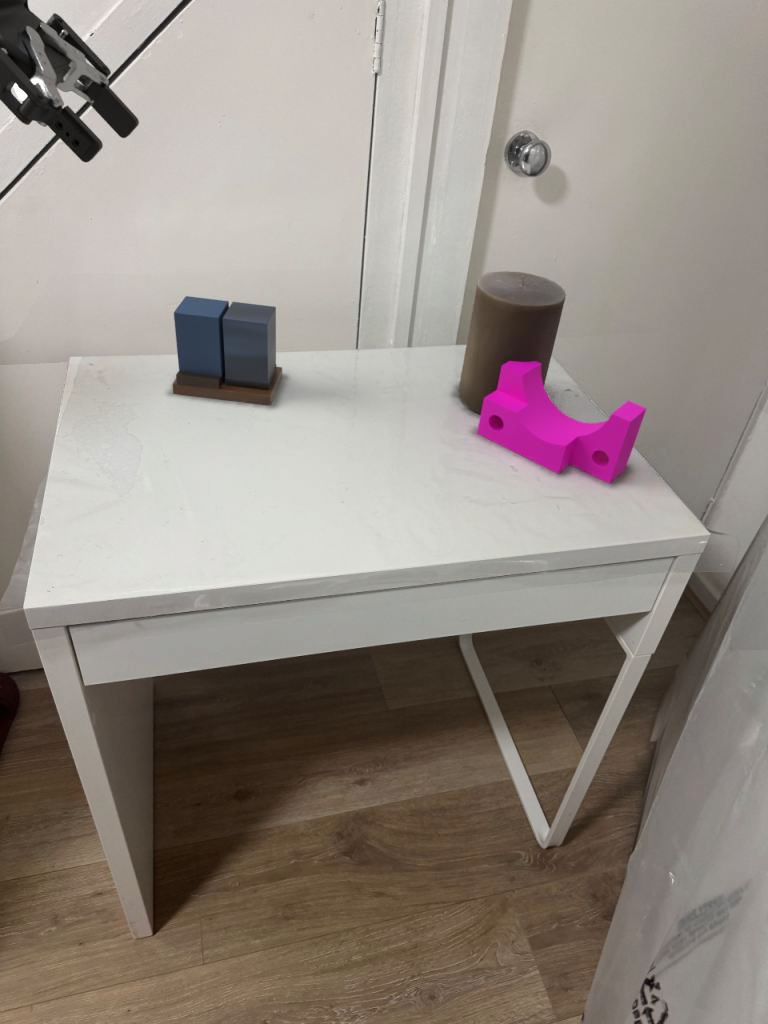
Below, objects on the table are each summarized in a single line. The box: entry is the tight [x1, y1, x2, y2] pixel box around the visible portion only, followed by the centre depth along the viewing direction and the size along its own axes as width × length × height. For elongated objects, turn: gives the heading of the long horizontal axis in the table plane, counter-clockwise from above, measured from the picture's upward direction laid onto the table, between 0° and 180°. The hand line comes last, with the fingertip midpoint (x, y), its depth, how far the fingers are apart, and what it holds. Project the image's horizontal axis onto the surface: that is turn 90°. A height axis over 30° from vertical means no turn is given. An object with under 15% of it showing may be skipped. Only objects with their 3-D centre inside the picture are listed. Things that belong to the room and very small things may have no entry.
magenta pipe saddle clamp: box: [476, 361, 647, 484], centre depth 80 cm, size 15×6×8 cm, turn 50°
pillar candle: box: [458, 270, 567, 415], centre depth 85 cm, size 10×10×15 cm
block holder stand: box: [172, 301, 283, 406], centre depth 85 cm, size 7×11×9 cm, turn 85°
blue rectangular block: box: [173, 295, 230, 385], centre depth 84 cm, size 4×5×8 cm
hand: (114, 142), depth 65 cm, fingers open, 8 cm apart
